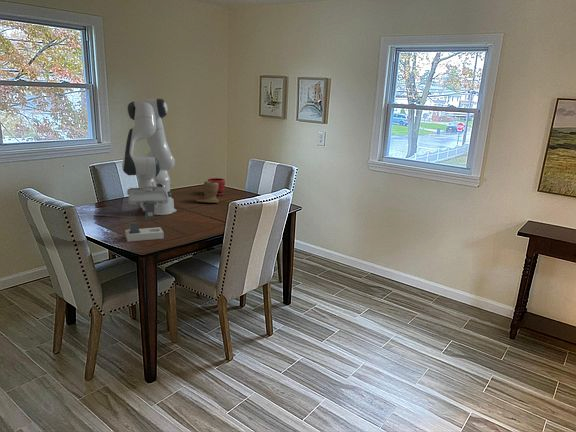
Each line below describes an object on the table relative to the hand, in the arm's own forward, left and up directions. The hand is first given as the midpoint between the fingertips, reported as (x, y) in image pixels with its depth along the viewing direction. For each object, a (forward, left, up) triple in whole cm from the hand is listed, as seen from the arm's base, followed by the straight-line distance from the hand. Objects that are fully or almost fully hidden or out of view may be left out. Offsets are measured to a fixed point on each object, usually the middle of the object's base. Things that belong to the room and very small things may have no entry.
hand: (149, 210), depth 225 cm
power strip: (-5, -3, -15) cm, 16 cm away
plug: (-1, 0, -5) cm, 5 cm away
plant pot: (-86, +62, -15) cm, 107 cm away
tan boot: (-65, +50, -15) cm, 84 cm away
